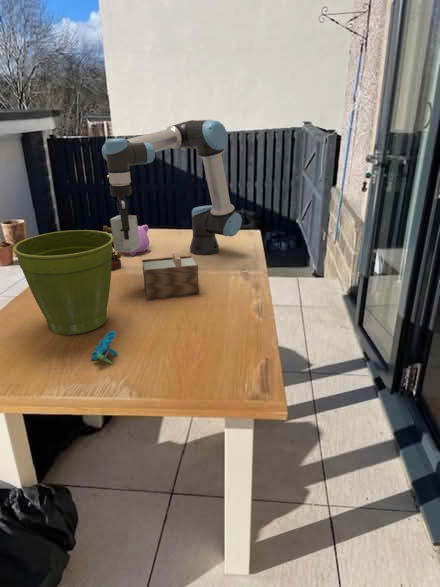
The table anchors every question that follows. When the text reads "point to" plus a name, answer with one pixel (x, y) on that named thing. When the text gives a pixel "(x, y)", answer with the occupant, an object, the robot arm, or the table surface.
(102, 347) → the blue angular piece
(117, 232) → the supplement box
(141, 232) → the pink piggy bank
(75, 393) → the table surface
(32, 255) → the plant pot
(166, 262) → the lid
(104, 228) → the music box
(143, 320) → the table surface
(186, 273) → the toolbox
